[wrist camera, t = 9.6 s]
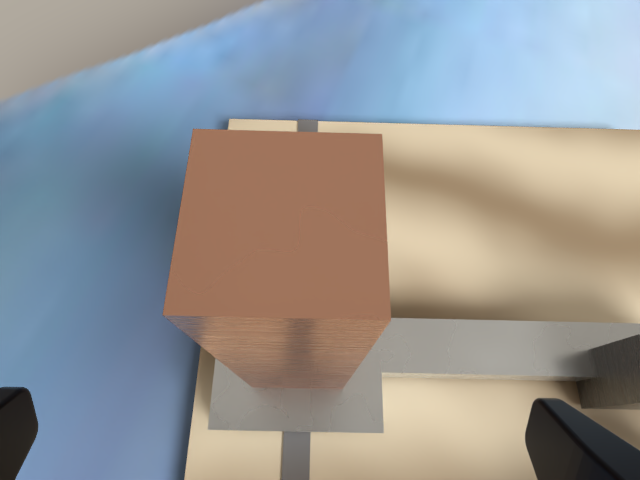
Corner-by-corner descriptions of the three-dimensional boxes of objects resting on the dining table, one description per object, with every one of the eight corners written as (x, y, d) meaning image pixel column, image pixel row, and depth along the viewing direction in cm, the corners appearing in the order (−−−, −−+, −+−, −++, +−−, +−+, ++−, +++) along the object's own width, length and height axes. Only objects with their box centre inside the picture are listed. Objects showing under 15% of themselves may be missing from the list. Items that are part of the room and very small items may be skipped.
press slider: (704, 439, 16) (1434, 449, 6) (215, 430, 16) (34, 421, 6) (658, 285, 19) (1110, 91, 8) (231, 275, 19) (126, 64, 8)
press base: (815, 730, 14) (1130, 914, 9) (162, 721, 14) (66, 906, 9) (627, 141, 24) (723, 52, 18) (232, 131, 23) (208, 37, 18)
